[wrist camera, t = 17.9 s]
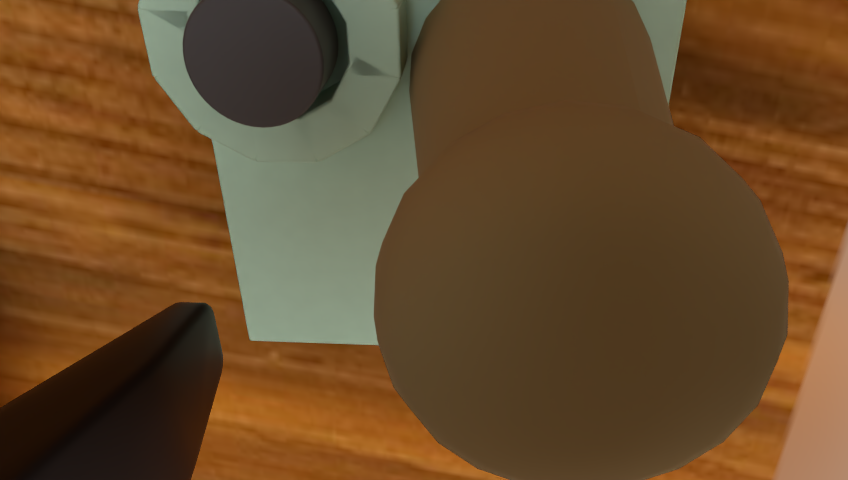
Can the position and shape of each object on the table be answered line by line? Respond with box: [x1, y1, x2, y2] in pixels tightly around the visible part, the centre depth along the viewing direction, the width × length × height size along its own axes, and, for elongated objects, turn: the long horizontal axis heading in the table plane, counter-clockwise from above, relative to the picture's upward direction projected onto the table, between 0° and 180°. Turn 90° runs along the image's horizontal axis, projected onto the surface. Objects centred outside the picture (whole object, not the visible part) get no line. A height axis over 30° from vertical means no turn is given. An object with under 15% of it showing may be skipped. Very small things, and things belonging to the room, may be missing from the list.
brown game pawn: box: [374, 0, 789, 480], centre depth 12 cm, size 6×6×11 cm
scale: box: [138, 0, 687, 345], centre depth 18 cm, size 12×13×3 cm
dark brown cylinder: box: [183, 0, 338, 128], centre depth 15 cm, size 3×3×2 cm
